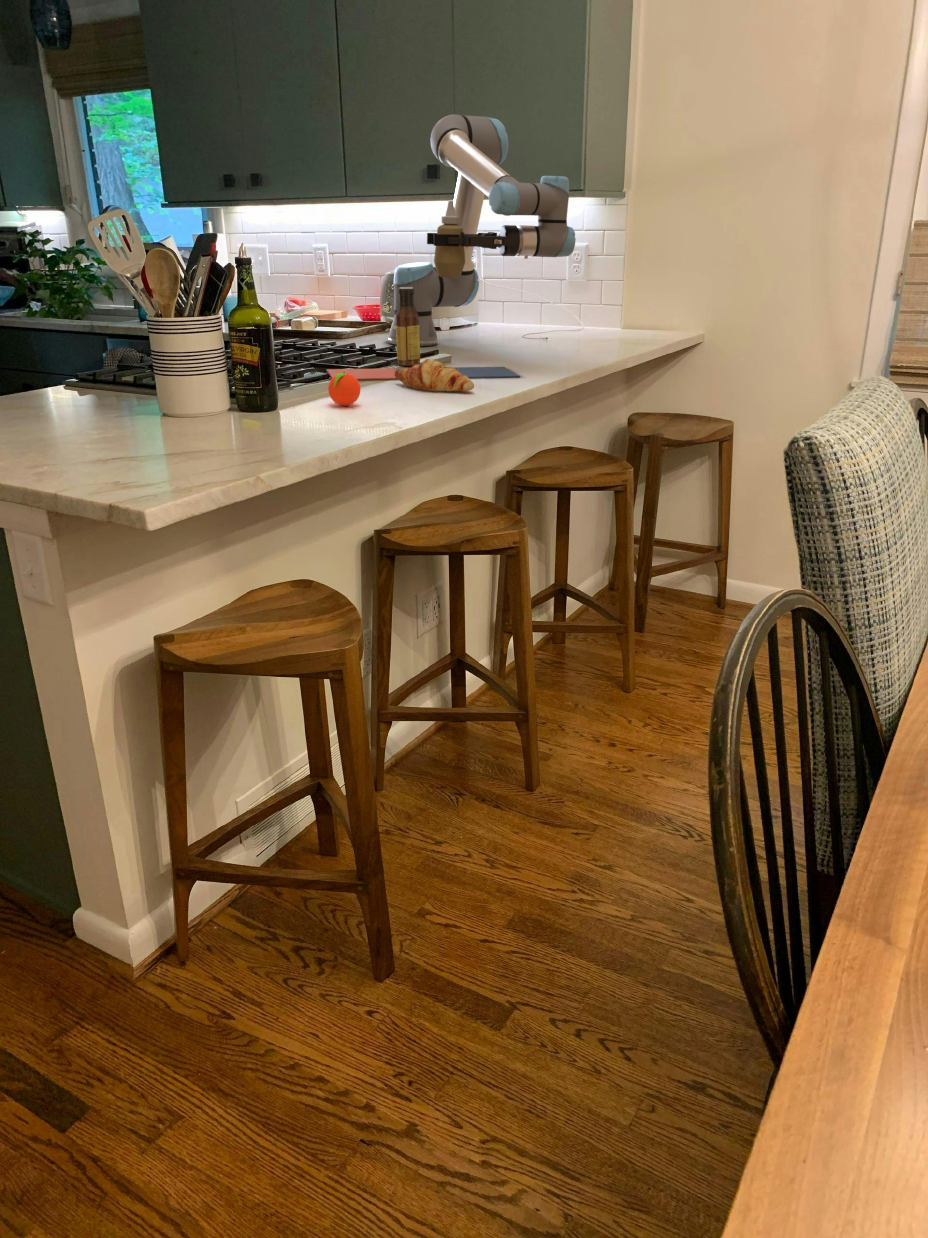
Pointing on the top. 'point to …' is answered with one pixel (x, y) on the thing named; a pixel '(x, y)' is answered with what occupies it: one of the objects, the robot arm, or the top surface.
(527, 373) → the top surface
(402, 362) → the sauce bottle
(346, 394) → the clementine
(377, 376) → the terracotta mat
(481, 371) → the slate mat
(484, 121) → the robot arm
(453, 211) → the squeeze bottle
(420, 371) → the croissant
